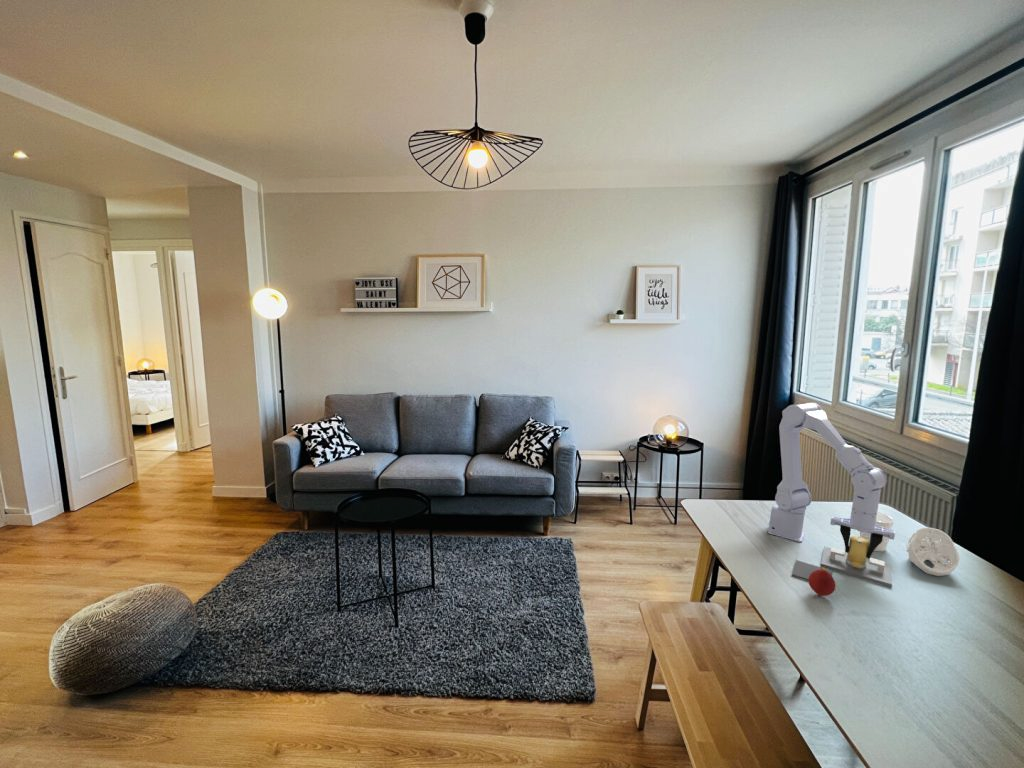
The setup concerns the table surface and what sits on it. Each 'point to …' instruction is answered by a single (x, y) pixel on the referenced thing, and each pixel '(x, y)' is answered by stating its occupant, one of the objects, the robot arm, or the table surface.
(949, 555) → the skull bowl
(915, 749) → the table surface
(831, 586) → the onion
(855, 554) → the yellow rounded piece
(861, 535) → the white cup
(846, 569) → the post base
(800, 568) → the mat
